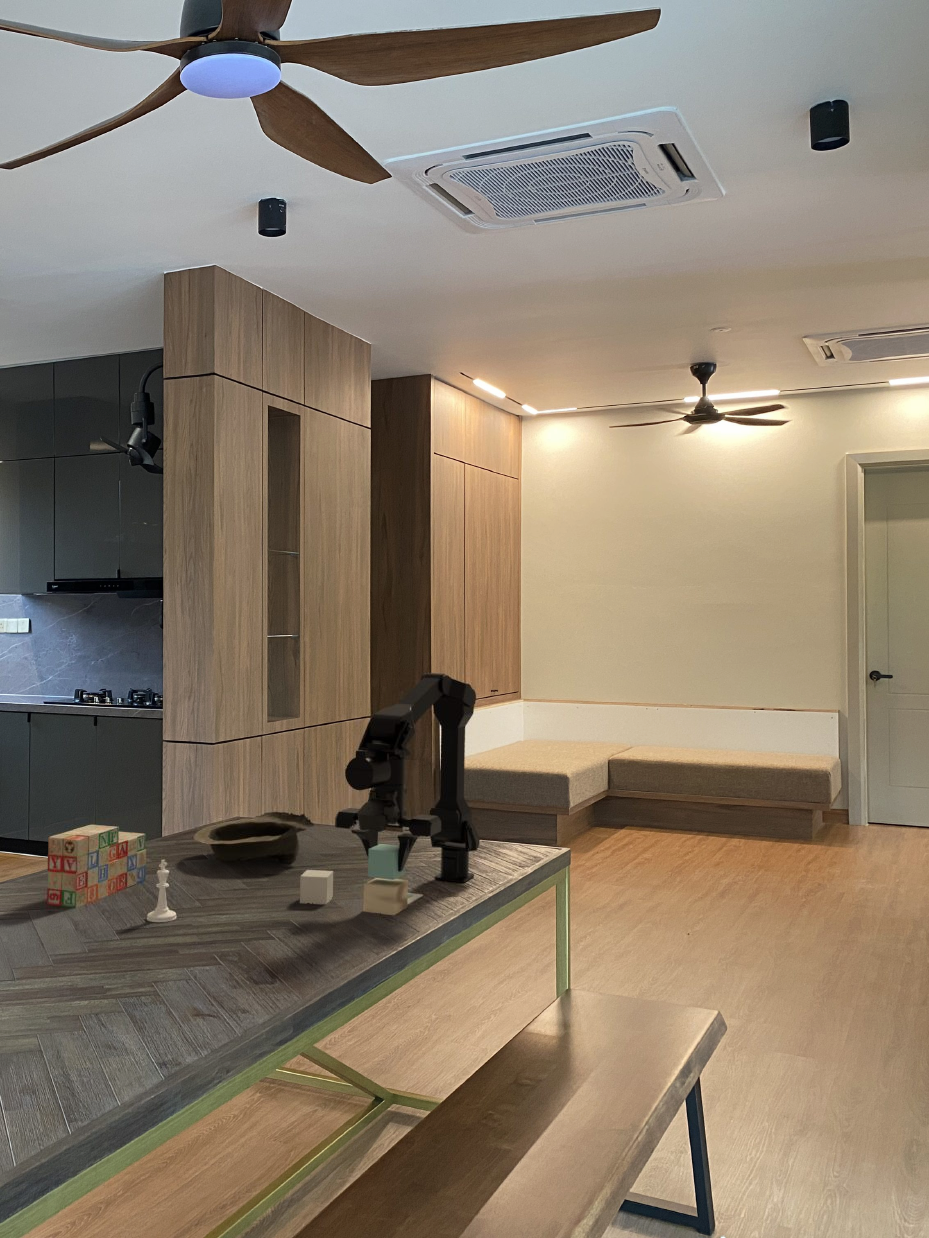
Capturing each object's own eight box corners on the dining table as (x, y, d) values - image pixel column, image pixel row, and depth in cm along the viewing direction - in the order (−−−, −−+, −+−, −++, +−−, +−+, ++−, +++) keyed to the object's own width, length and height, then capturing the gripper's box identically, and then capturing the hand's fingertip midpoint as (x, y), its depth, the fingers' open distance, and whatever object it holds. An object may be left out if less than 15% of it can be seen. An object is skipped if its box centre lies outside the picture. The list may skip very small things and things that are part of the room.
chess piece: (182, 916, 184) (183, 858, 184) (165, 923, 179) (167, 864, 179) (158, 913, 186) (159, 855, 186) (140, 920, 181) (142, 861, 181)
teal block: (379, 870, 195) (380, 843, 195) (404, 873, 193) (405, 846, 193) (367, 876, 190) (368, 848, 190) (393, 879, 189) (394, 851, 189)
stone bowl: (334, 856, 233) (333, 814, 232) (254, 887, 212) (253, 841, 211) (251, 839, 246) (250, 800, 245) (168, 867, 225) (167, 824, 224)
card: (389, 891, 204) (389, 889, 204) (422, 895, 202) (422, 893, 202) (373, 900, 198) (373, 897, 198) (408, 904, 195) (408, 902, 195)
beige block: (306, 896, 199) (307, 869, 200) (332, 897, 199) (333, 871, 199) (299, 903, 195) (300, 876, 195) (326, 904, 194) (327, 877, 194)
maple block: (377, 903, 196) (377, 876, 196) (407, 907, 194) (408, 880, 194) (363, 912, 190) (364, 884, 190) (394, 915, 188) (394, 887, 188)
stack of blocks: (118, 878, 210) (120, 815, 210) (146, 881, 208) (147, 818, 208) (45, 905, 189) (47, 835, 189) (75, 908, 187) (77, 838, 187)
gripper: (321, 785, 188) (319, 873, 188) (419, 793, 181) (417, 885, 181) (349, 776, 198) (347, 860, 198) (443, 784, 192) (441, 871, 192)
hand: (386, 869), depth 192 cm, fingers closed on teal block, 5 cm apart
